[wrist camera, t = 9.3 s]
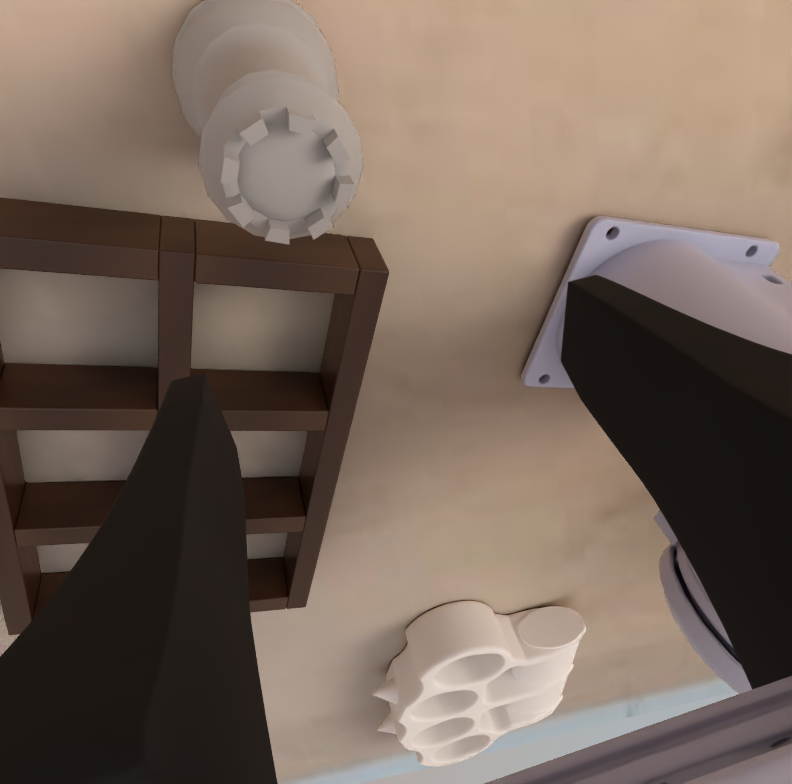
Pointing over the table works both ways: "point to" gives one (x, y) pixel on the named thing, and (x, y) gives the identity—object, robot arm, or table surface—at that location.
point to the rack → (146, 387)
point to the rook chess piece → (267, 116)
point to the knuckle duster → (476, 677)
